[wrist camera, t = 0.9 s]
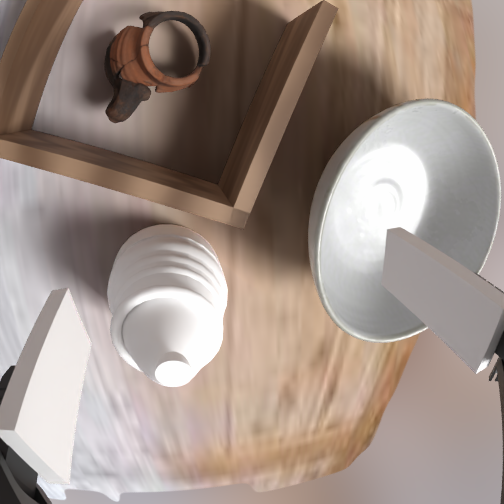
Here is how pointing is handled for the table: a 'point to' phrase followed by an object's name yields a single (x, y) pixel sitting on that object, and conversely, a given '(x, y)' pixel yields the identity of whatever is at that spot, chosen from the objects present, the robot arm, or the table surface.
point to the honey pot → (167, 303)
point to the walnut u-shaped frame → (134, 170)
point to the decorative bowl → (400, 209)
